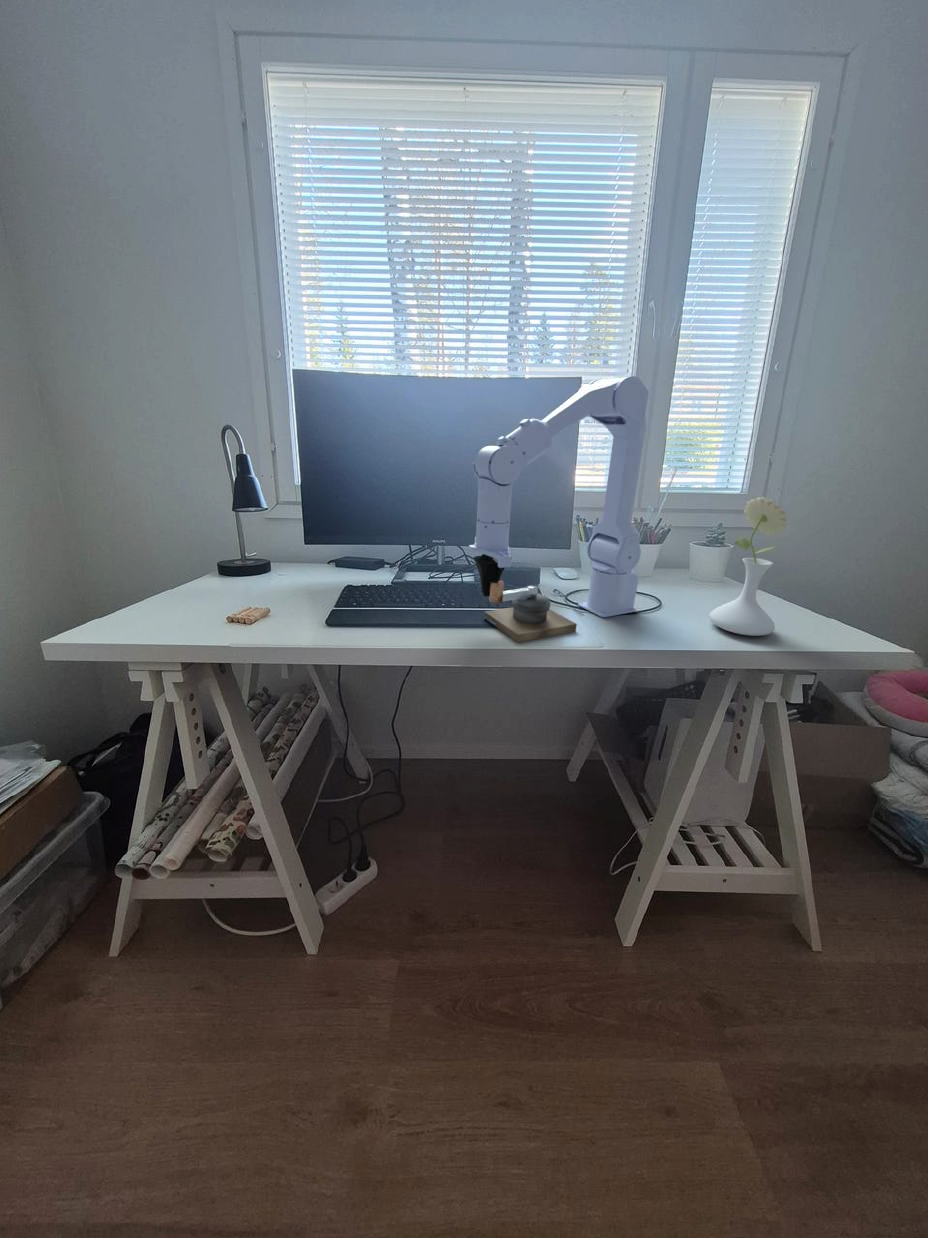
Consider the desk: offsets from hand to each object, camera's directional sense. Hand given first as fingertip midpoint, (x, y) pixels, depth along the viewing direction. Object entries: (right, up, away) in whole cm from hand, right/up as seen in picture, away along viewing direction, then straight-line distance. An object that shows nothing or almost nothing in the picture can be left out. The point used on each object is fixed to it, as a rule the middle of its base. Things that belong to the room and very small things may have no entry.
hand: (488, 595), depth 86 cm
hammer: (+5, -1, 0) cm, 5 cm away
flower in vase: (+49, -6, +7) cm, 50 cm away
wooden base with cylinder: (+8, -5, +4) cm, 11 cm away
